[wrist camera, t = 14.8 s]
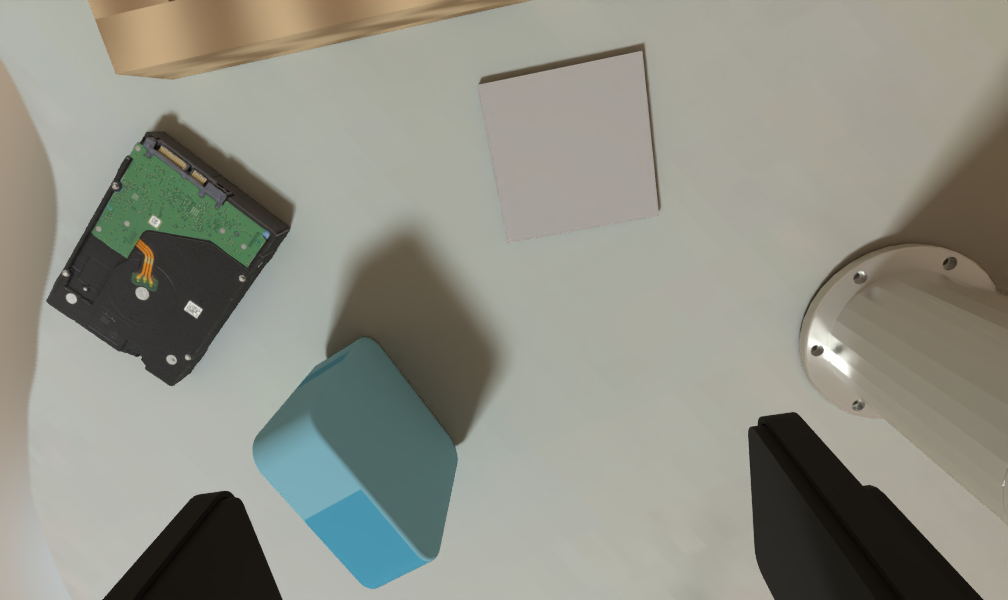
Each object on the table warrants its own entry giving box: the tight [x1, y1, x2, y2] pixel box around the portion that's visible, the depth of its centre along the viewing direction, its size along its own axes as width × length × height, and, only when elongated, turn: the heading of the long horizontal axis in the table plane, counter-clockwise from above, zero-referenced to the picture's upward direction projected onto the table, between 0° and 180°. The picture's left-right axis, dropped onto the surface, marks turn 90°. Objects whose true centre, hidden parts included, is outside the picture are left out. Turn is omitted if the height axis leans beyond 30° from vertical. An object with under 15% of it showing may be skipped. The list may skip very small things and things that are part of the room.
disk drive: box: [46, 132, 290, 386], centre depth 38 cm, size 10×3×15 cm
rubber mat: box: [478, 51, 659, 243], centre depth 35 cm, size 10×10×1 cm
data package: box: [253, 337, 458, 589], centre depth 36 cm, size 12×4×12 cm, turn 33°
